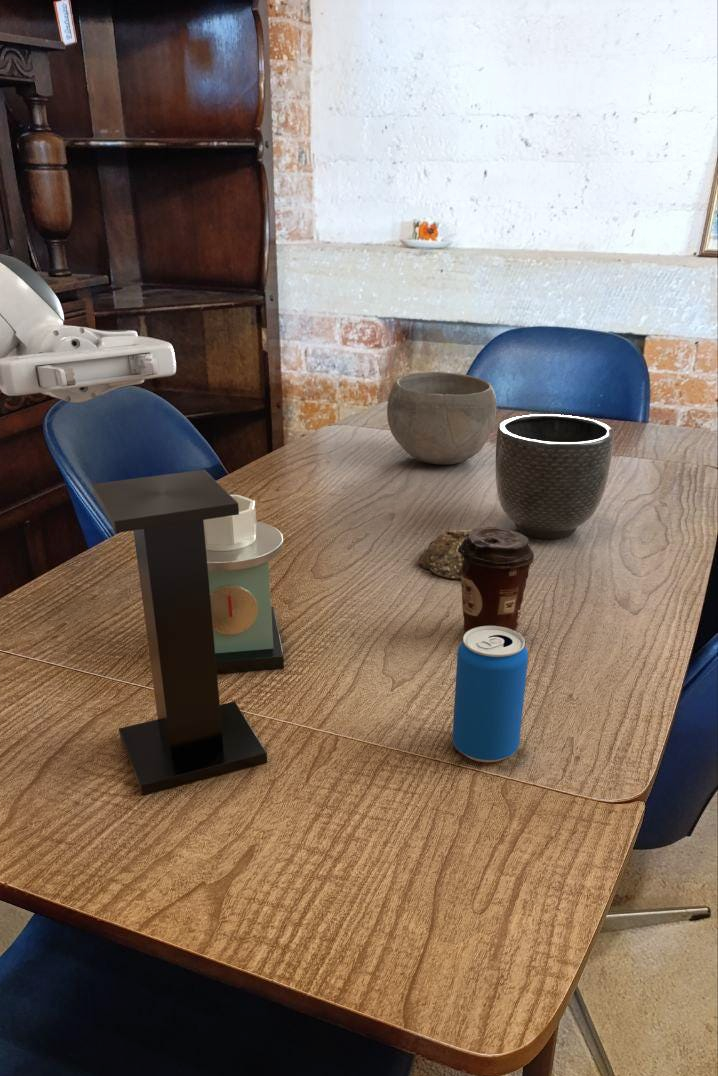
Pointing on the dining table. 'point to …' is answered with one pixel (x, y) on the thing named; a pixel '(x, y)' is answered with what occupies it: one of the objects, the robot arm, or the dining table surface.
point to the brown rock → (445, 554)
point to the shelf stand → (178, 632)
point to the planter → (552, 472)
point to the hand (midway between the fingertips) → (110, 372)
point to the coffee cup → (494, 577)
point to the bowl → (441, 415)
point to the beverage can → (489, 693)
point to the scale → (245, 605)
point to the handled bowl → (232, 528)
